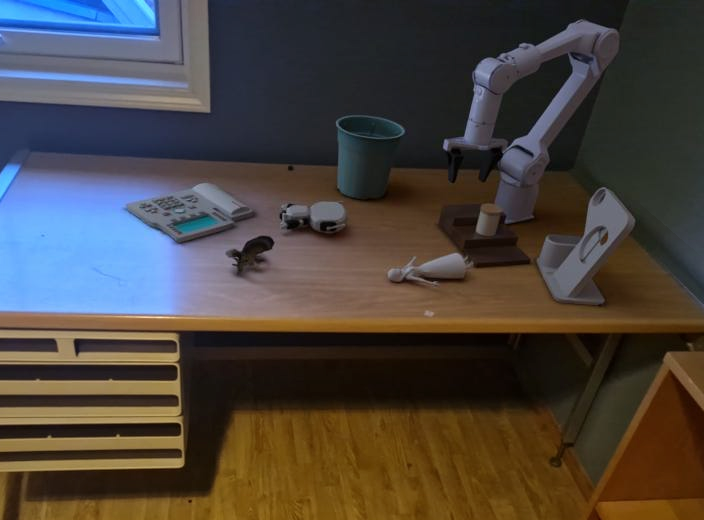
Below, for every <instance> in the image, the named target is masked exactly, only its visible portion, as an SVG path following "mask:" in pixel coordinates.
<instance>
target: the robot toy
mask: <svg viewBox="0 0 704 520" xmlns="http://www.w3.org/2000/svg"><path fill="white" fill-rule="evenodd" d="M344 202H345V200H340V201H318V202H315V203H314V204H313V205H312V206H311V207H310V208H309V206H307V205H298V204H295V203H290V202H289V203H288V204H287V203H284V204H282V205H281V206H280V207H281V208H280V209H281V210H282V211H281V212H280V213H279V219H280V221H282V222H280V223H279V225H278V226H279V228H280V229H282V230H285V229H286V230H289V231H290V230H294V229H300V228H306V227H308V226H309V225H310V226H311V227H312V229H314V230H315V231H317V232H319V233H323V234H328V235H329V234H333V233H337V232H340V231H341V230H343V229H344V228H345V227H346V226H347V221H348V211H347V210H346V209H347V208H346V207H345V206H344V205H342V204H343V203H344Z"/></svg>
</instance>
